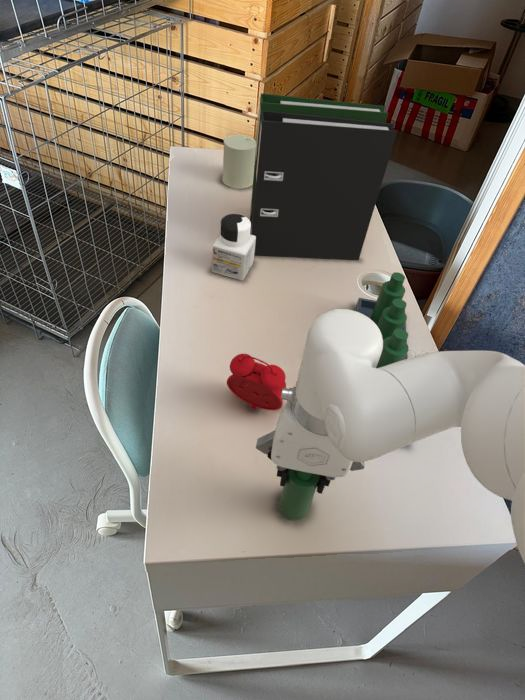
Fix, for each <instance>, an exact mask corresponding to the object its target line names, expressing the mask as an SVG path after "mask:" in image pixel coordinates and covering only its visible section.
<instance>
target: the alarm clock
mask: <svg viewBox="0 0 525 700" xmlns="http://www.w3.org/2000/svg"><path fill="white" fill-rule="evenodd" d="M257 361H258V362H257ZM229 371H230V373H231V375H229V376H228V377H227V379H226V386H227V387H228V389H229V391H231V392H232V394H234V396H236V397H237V398H239V399H240V400H242V401H243V402H246V404H249V405H251V406H250V408H251V409H252V410H256V409H257V408H258V409H261V410H266V411H277V410H280V409H281V408H282V406H283V399H281V395H282V389H283V388H287V383H286V377H287V376H286V373H285V371H284V369H282V367H280V366H278V365H277V364H269V363H268V362H266V361H264V360H261V359H260V358H257V357H254V356H252V355H250V354H248V353H239V354H236V355H235V356H234V357H233V358H232V359H231V360H230V363H229Z"/></svg>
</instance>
